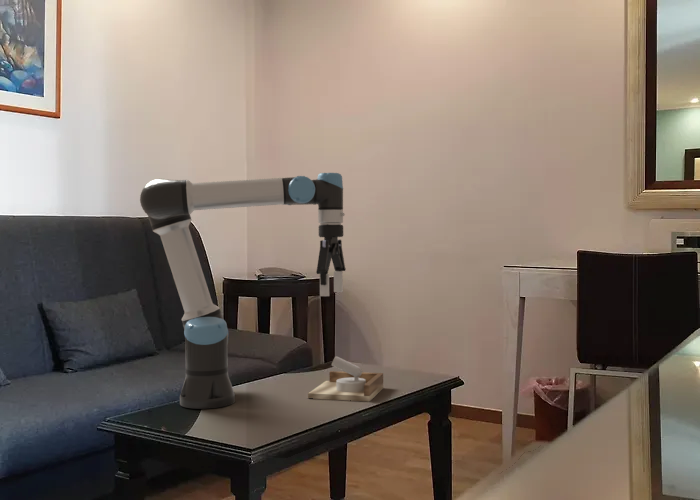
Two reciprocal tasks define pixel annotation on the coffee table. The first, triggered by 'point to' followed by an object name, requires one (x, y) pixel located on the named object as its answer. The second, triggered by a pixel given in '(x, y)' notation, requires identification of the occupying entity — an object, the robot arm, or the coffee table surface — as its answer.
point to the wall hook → (352, 382)
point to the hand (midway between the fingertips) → (331, 294)
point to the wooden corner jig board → (331, 393)
